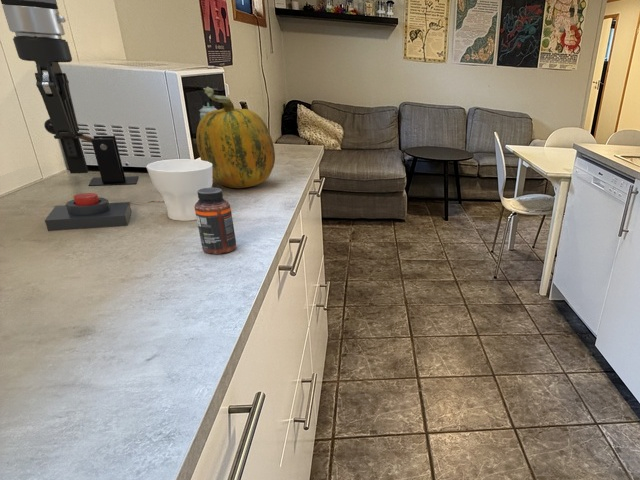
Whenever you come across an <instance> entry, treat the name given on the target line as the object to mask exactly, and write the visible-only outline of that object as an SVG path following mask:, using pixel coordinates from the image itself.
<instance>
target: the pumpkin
mask: <svg viewBox="0 0 640 480" xmlns="http://www.w3.org/2000/svg"><path fill="white" fill-rule="evenodd" d="M202 89H203V90H204V94H205V95H207V97H208V98H209V99H210V100H211V101H214V102H217V103H220V104H221V103H222V105H223V108H220V109H217V110H214V111H211V112H209V113H207V114H206V115H204V116H203V118H202V119H201V120H200V119H199V122H198V125H197V128H196V134H195V135H196V137H195V138H196V139H195V141H196V147H197V152H198V155H199V158H200V160H203V161H208V162H210V163H212V180H213V181H215V182H216V183H218V184H219V185H221V186H223V187H226V188H233V189H245V188H251V187H254V186H258V185H261V184H262V183H264V182H265V181H267V179H269V177H270V176H271V173H272V171H273V169H274V166H275V164H276V163H275V161H276V152H275V151H276V150H275V145H274V142H273V139H272V136H271V132H270V130H269V127H268V125H267V124H266V122H265V121H264V119H263V118H262V117H261V116H260V115H259V114H257V113H256V112H255V111H253V110H250V109H247V108H236V107H235V106H234V103H233V102H232V100H231V99H230V98H229V97H228V96H226V95H217V94H214V92H215V91H214V89H213V88H211V87H209V86H206V87H203V88H202Z"/></svg>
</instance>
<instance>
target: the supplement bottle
mask: <svg viewBox="0 0 640 480" xmlns="http://www.w3.org/2000/svg"><path fill="white" fill-rule="evenodd" d="M197 192H198V198H199V200H198V202H196V204H195V206H194V207H195V213H196V218H197V220H196V223H197V229H198V233H199V239H200V243H201V248H202V250H203V252H205V253H207V254H213V255H220V254H221V255H222V254H227V253H230V252H232V251H234V250H235V249H236V248H237V238H236V233H235V226H234V221H233V214H232V208H231V203H230V202H229V201H228V200H226V199H225V198H224V194H223V189H221V188H219V187H211V188H203V189H200V190H198V191H197Z"/></svg>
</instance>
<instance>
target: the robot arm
mask: <svg viewBox="0 0 640 480" xmlns="http://www.w3.org/2000/svg"><path fill="white" fill-rule="evenodd" d="M0 3H1V7H2V10H3V13H4V16H5V19H6V23H7V27H8V29H9V31H10V32H12V33H14V34H15V35H14V36H13V38H12V40H13V45H14V48H15V50H16V53H17V56H18V58H19V59H20V60H22V61H24V62H25V61H26V62H34V63H35V67H36V72H34V77H35V80H36V82H35V85H36V88H37V89H38V91H39V93H40V95H41V98H42V102H43V103H44V106H45V109H46V111H47V114H48V118H49V119H50V120H51V123H52V125H53V128H54V131H55V135H54V134H53V138H54V139H55V140H60V143H61V147H62V150H63V153H64V157H65V161H66V163H67V166H68V170H69V173H70V174H88V173H89V168H88V165H87V161H86V158H85V154H84V150H83V147H82V143H81V139H80V138H79V137H83V135H84V133H83V132H80V127H79V124H78V120H77V117H76V111H75V108H74V104H73V99H72V95H71V90H70V84H69V83H70V82H69V79H68V76H67V73H65V72H63V71H62V68H61V66H60V63H72V61H73V57H72V53H71V50H70V46H69V42H68V41H67V40H66V39H64V38H62V37H63V36H65V34H66V33H65V29H64V26H63V23H66V21H67V19H66V17H64V16H62V15H60V11H59V7H58V2H57V0H0Z"/></svg>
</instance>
